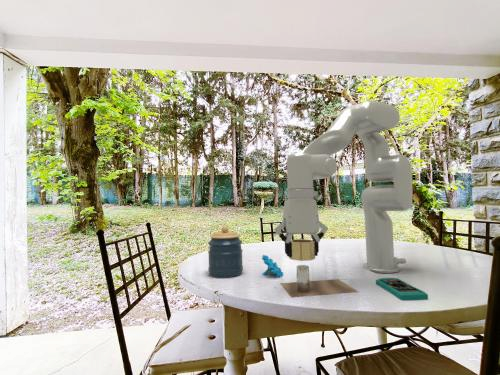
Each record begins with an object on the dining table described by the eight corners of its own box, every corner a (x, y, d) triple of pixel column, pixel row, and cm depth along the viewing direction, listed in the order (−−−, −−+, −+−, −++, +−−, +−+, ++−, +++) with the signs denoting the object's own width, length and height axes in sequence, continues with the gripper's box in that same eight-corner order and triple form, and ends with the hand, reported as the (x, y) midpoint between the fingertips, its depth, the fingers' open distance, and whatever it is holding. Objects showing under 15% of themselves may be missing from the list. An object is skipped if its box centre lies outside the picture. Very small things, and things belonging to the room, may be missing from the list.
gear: (281, 276, 94) (261, 254, 97) (269, 288, 95) (249, 266, 98) (287, 272, 104) (269, 252, 108) (276, 283, 105) (258, 263, 108)
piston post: (307, 288, 85) (306, 264, 85) (311, 292, 81) (310, 267, 81) (295, 289, 84) (294, 265, 84) (299, 293, 80) (298, 268, 81)
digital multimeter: (397, 286, 88) (397, 276, 88) (429, 303, 73) (429, 292, 73) (374, 287, 88) (374, 277, 88) (401, 304, 73) (401, 293, 73)
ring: (309, 255, 87) (308, 238, 87) (318, 260, 80) (317, 242, 80) (286, 256, 86) (286, 239, 86) (293, 261, 79) (293, 243, 79)
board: (338, 281, 93) (338, 279, 93) (359, 294, 80) (359, 291, 80) (279, 285, 90) (279, 283, 90) (291, 299, 77) (291, 297, 77)
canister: (248, 270, 109) (247, 225, 110) (232, 279, 97) (231, 228, 98) (219, 268, 115) (219, 224, 115) (201, 276, 103) (200, 227, 104)
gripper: (323, 195, 89) (324, 252, 88) (269, 195, 86) (270, 254, 85) (333, 194, 81) (335, 256, 80) (274, 195, 79) (276, 259, 78)
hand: (301, 255), depth 83 cm, fingers closed on ring, 7 cm apart
